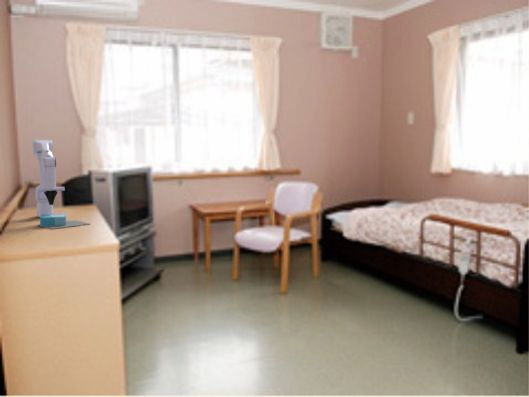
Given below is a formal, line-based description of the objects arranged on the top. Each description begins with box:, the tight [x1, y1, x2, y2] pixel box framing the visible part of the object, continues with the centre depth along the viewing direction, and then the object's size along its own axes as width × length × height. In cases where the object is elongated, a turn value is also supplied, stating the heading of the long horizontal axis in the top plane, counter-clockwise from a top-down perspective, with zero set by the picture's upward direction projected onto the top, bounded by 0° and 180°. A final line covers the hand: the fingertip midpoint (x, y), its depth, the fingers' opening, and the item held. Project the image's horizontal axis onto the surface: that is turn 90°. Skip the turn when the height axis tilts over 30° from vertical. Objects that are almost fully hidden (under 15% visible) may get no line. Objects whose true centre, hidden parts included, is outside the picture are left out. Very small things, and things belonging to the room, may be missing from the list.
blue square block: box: [39, 213, 67, 228], centre depth 240 cm, size 12×4×12 cm
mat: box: [37, 219, 91, 230], centre depth 241 cm, size 16×20×1 cm
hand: (51, 204), depth 249 cm, fingers closed
